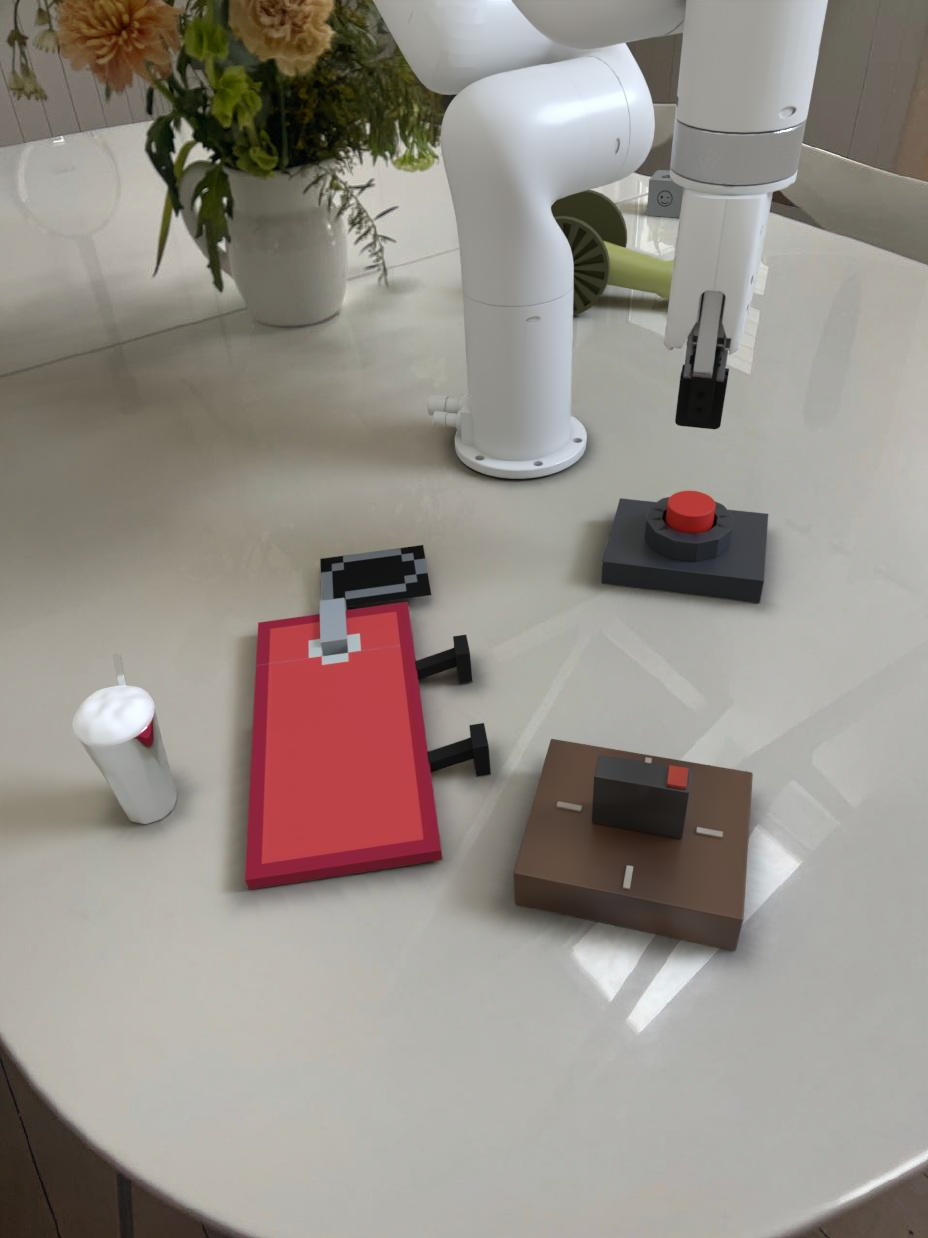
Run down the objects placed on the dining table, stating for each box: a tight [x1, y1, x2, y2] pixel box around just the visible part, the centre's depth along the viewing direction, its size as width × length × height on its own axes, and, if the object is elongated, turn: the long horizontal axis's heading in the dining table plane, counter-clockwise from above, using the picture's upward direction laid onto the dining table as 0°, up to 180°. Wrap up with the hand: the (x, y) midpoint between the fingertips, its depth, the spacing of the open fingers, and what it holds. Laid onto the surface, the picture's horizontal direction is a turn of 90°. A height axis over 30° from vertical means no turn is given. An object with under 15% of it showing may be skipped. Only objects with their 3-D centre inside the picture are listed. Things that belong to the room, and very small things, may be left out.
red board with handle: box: [244, 544, 492, 890], centre depth 65 cm, size 30×3×15 cm
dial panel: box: [513, 738, 754, 952], centre depth 54 cm, size 12×10×3 cm
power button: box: [666, 490, 716, 534], centre depth 73 cm, size 4×4×2 cm
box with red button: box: [592, 755, 692, 839], centre depth 51 cm, size 5×2×4 cm, turn 75°
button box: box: [600, 496, 769, 604], centre depth 75 cm, size 12×9×4 cm
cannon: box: [551, 189, 674, 316], centre depth 112 cm, size 25×12×11 cm, turn 71°
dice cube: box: [646, 169, 685, 219], centre depth 139 cm, size 5×5×5 cm
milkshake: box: [71, 653, 178, 825], centre depth 57 cm, size 4×5×10 cm
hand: (698, 421), depth 69 cm, fingers closed
